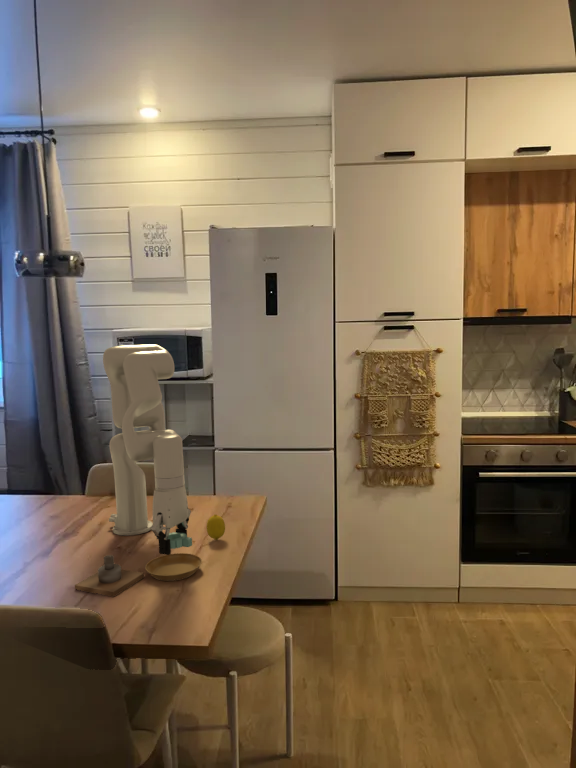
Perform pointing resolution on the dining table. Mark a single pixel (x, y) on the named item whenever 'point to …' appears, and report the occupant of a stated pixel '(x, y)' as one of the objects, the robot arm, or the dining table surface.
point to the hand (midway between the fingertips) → (173, 548)
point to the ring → (179, 540)
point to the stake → (109, 579)
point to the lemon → (215, 527)
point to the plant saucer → (173, 566)
